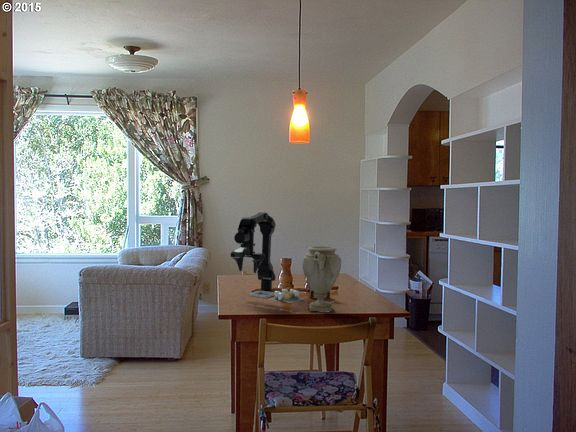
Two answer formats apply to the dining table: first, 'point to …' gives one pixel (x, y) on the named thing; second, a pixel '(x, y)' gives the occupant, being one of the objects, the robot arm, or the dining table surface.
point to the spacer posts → (280, 295)
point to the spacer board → (288, 300)
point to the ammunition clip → (313, 296)
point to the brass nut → (287, 295)
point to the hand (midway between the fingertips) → (247, 272)
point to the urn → (321, 274)
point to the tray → (262, 295)
